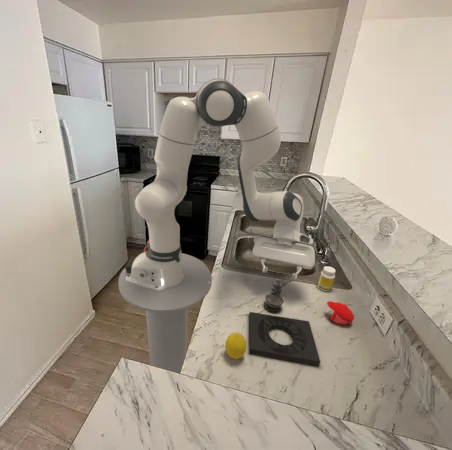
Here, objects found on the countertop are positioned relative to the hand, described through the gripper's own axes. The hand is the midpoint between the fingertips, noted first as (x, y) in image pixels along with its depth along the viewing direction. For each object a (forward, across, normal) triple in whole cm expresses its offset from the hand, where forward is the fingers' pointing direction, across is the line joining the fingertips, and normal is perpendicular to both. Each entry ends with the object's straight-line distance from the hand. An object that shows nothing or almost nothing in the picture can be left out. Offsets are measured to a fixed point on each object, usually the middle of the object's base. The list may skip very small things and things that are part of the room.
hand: (278, 275), depth 86 cm
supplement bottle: (-2, +17, +17) cm, 24 cm away
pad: (+19, +3, -5) cm, 20 cm away
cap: (+9, +20, +6) cm, 22 cm away
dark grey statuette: (+10, 0, +4) cm, 11 cm away
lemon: (+27, -8, -12) cm, 30 cm away
